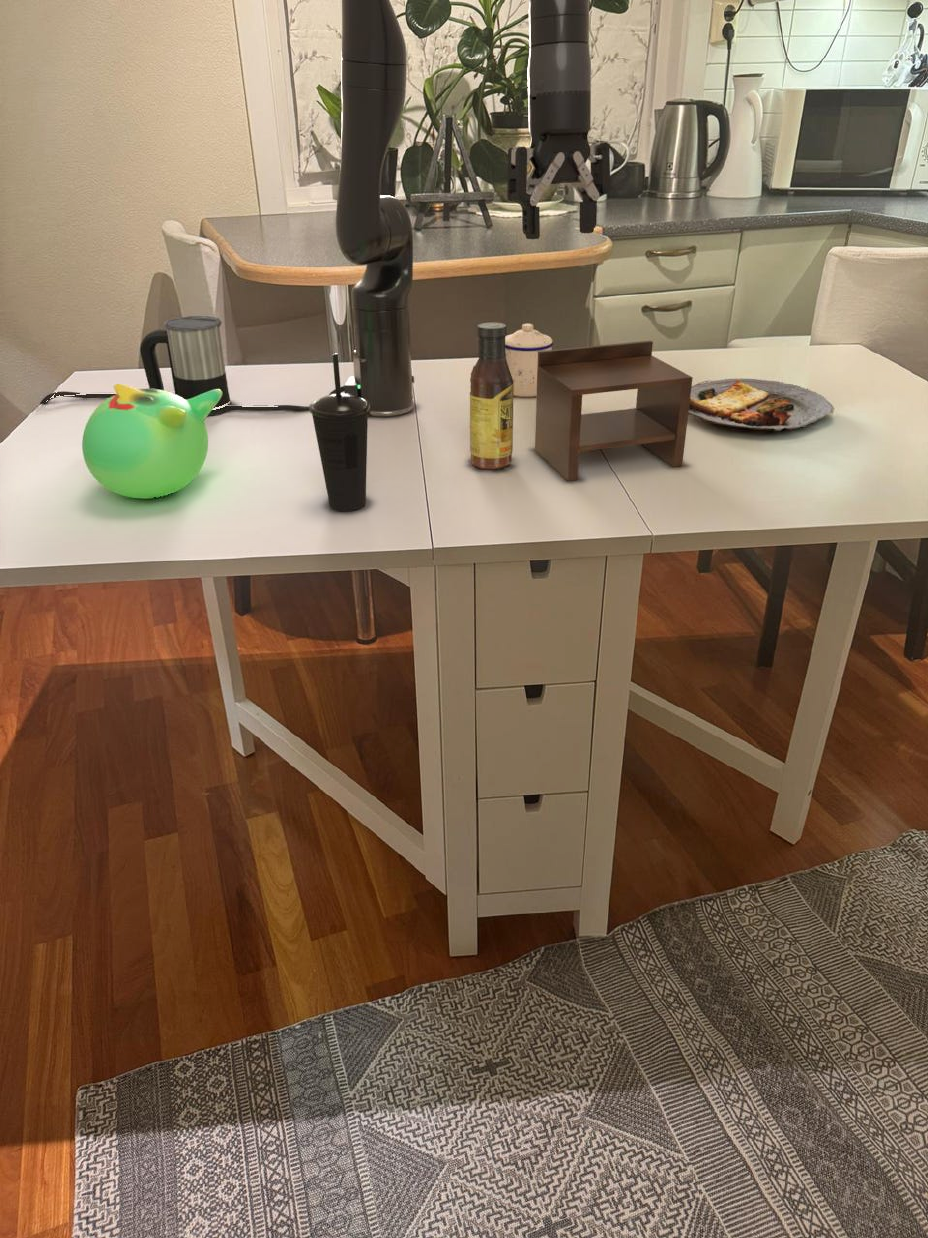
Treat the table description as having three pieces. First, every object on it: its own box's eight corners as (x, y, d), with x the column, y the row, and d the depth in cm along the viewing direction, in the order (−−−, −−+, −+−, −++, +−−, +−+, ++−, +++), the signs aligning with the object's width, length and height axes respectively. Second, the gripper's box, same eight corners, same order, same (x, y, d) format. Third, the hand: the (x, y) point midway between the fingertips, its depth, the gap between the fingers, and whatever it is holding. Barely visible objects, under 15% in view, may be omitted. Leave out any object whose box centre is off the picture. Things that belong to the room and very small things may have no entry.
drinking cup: (385, 496, 124) (376, 348, 114) (362, 519, 118) (350, 364, 108) (334, 490, 126) (321, 344, 116) (309, 511, 120) (292, 359, 110)
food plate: (769, 450, 137) (773, 428, 136) (647, 414, 153) (649, 393, 151) (854, 414, 151) (858, 393, 150) (734, 384, 167) (737, 365, 165)
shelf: (567, 481, 128) (573, 375, 120) (534, 450, 139) (537, 350, 131) (682, 465, 133) (694, 362, 125) (641, 436, 143) (650, 340, 136)
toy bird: (123, 466, 135) (102, 367, 127) (236, 466, 134) (221, 367, 127) (75, 517, 119) (47, 408, 112) (202, 517, 119) (183, 407, 111)
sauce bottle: (508, 472, 131) (510, 331, 121) (466, 469, 132) (464, 330, 122) (515, 456, 137) (518, 320, 126) (474, 454, 138) (473, 319, 128)
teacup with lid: (539, 380, 170) (541, 316, 164) (559, 394, 163) (562, 327, 157) (479, 387, 167) (478, 322, 161) (496, 402, 159) (496, 334, 153)
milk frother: (230, 398, 163) (218, 312, 155) (241, 425, 150) (227, 334, 143) (148, 407, 159) (131, 320, 152) (151, 436, 146) (132, 342, 139)
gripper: (587, 91, 116) (586, 230, 123) (492, 93, 109) (497, 239, 117) (625, 86, 110) (622, 232, 117) (527, 88, 103) (530, 241, 111)
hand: (559, 235), depth 117 cm, fingers open, 8 cm apart
